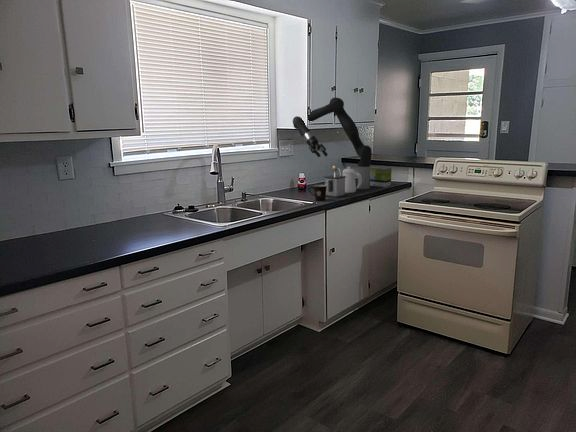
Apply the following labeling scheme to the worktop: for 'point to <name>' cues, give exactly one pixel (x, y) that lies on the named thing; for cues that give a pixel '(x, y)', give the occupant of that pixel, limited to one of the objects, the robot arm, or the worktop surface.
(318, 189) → the coffee mug
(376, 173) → the tea box
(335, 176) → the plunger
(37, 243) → the worktop surface
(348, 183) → the coffeepot
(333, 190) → the utensil holder
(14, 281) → the worktop surface
